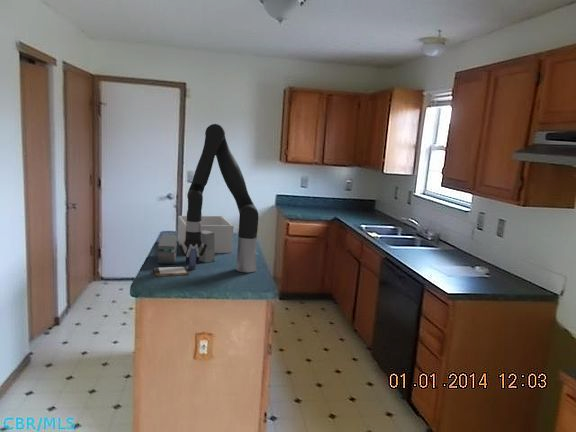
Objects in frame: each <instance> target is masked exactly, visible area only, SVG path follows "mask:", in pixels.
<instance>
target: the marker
mask: <svg viewBox="0 0 576 432" xmlns="http://www.w3.org/2000/svg"><path fill="white" fill-rule="evenodd" d="M196 257H197V254H196V248H195V246H192V248H191V251H190V254H189V264H188V271H189V270H190V271H196V270H197V268H196V267H197V264H196Z"/></svg>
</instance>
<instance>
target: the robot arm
mask: <svg viewBox="0 0 576 432" xmlns="http://www.w3.org/2000/svg"><path fill="white" fill-rule="evenodd" d="M204 136H205V137H204V142H203V143H204V145H203V148H202V152H201V155H200V158H199V160H198V163H197V165H196V168H195V171H194V174H193V176H192V181H191V184H190V186H189V188H188V191H187V195H186V196H187V210H186V216H187V222H186V235H185V242H184V243H182V244H179V243H178V247H179V249H180V252H181V256H183V257H185V264H186V265H188V264H189V254H190V251H191V248H192V246H195V248H196V254H197V257H196V265H198V264H199V263H200V261H199V257H200V256H203V254H204V252H205V249H206V247H207V245H206V244H205V243H202V242H201V230H202V224H201V216H203V215H202V209H203V199H204V196H203V193H204V190H205V187H206V185H208V181H209V178H210V175H211V171H212V168H213V164H214V162H215V161H214V160H215V157H216V159H217V164H218V168H219V170H220V174H221V176H222V177H223V180H224V183H225V185H226V186H227V189H228V190H229V192H230V194H231V195H232V197H233V198H234V200H235V203H236V206H237V210H238V214H239V216H238V217H239V220H238V233H237V234H238V237H237V255H236V268H235V269H236V271H237V272H240V273H252V272H253V273H254V272H256V271H257V261H258V259H257V257H258V253H257V240H258V229H259V228H258V227H259V212H258V209H257V206H255V204H254V202H253V201H252V198H251V197H250V194H249V191H248V189H247V185H246V180H245V179H244V175H243V173H242V170H241V168H240V166H239V163H238V162H237V160H236V159H235V157H234V155H233V154H232V152H231V150H230V148H229V144H228V140H227V139H226V131H225V129H224V127H223V126H222V125H220V124H218V123H212V124H210V125H208V126H207V127H206V129H205V135H204ZM184 245H185V246H186V247H187V251H186V253H184V250H183V248H184ZM201 245H202V249H201V252H200V253H199V250H198V248H199V247H200V246H201Z"/></svg>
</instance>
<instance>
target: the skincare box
mask: <svg viewBox="0 0 576 432" xmlns="http://www.w3.org/2000/svg"><path fill="white" fill-rule="evenodd" d="M201 242H202V243H205V244H206V245H207V247H206V249H205V252H204V254H203V256H200V257H199V262H202V263H209V262H210V263H212V262H215V260H216V259H215V255H216V253H215V247H214V232H210V231H206V230H204V231H201ZM201 249H202V245H201V246H200V247H199V248H198V250H199V253H200V252H201Z"/></svg>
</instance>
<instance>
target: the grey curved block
mask: <svg viewBox="0 0 576 432" xmlns="http://www.w3.org/2000/svg"><path fill="white" fill-rule="evenodd" d="M177 249H178V234H174V235H173V234H162V236H161V237H160V240H159V242H158V244H157V262H158V264H160V265H161V264H163V265H164V264H165V265H166V264H167V265H168V264H170V265H174V264H176V263H175V262H176V259H177V251H178V250H177Z"/></svg>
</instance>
